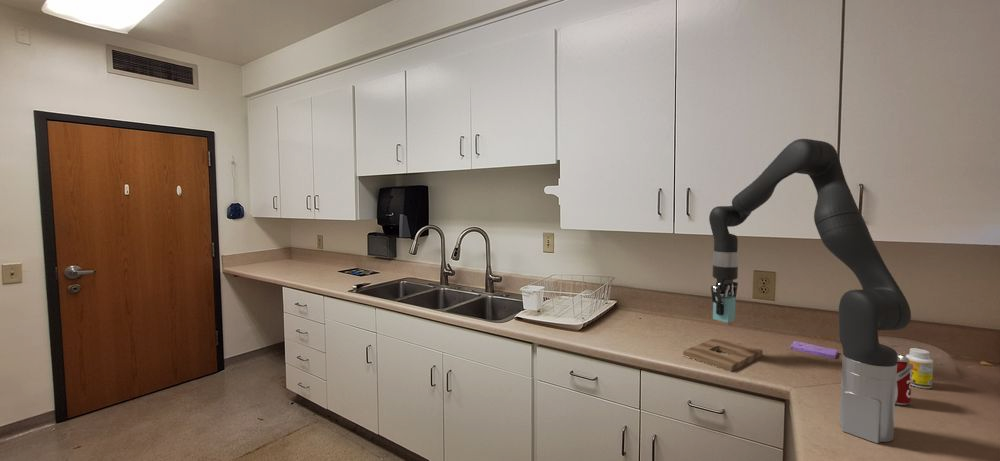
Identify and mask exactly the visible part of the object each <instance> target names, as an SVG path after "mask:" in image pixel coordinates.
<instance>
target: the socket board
mask: <svg viewBox="0 0 1000 461" xmlns="http://www.w3.org/2000/svg"><path fill="white" fill-rule="evenodd" d="M717 350H718V351H717ZM715 351H717V352H715ZM719 351H722V352H719ZM723 352H725V353H723ZM726 353H728V354H726ZM682 354H683V355H685V356H688V357H690V358H693V359H696V360H699V361H702V362H704V363H703V364H705V363H707V364H706V365H709V364H710V365H709V366H712V365H714V366H713V367H715V366H717V367H716V368H718V367H719V369H721V368H722V370H724V371H728V372H731V373H732V372H734V371H736V370H738V369H740V368H741V367H743V366H746V365H747V364H749V363H751V362H753V361H755V360H757V359H759V358H761V357H762V356H763V349H761V348H760V349H759V348H756V347H753V346H749V345H745V344H741V343H737V342H733V341H729V340H726V339H723V338H722V339H721V338H718V337H714V338H711V339H709V340H707V341H704V342H702V343H699V344H697V345H694V346H692V347H688V348H686V349H684V350H683V351H682ZM683 355H682V356H683ZM760 356H761V357H760ZM758 357H759V358H758ZM690 358H689V359H690ZM756 358H757V359H756ZM693 359H692V360H693ZM754 359H755V360H754ZM696 360H695V361H696ZM752 360H753V361H752ZM699 361H698V362H699ZM750 361H751V362H750ZM702 362H701V363H702ZM748 362H749V363H748Z"/></svg>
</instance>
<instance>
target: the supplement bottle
mask: <svg viewBox="0 0 1000 461" xmlns="http://www.w3.org/2000/svg"><path fill="white" fill-rule="evenodd" d="M930 354H931V353H930V351H928V350H926V349H922V348H917V347H912V348H911V347H910V348H909V352H908V354H906V355H905V357H907V358H908V359H909V363H910V364H911V365H912V382H911V385H912V386H911V387H914V386H915V388H918V389H931V388H932V387H933V379H934V378H933V377H934V376H933V374H934V360H933V359H932V358H931V357H930Z"/></svg>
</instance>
